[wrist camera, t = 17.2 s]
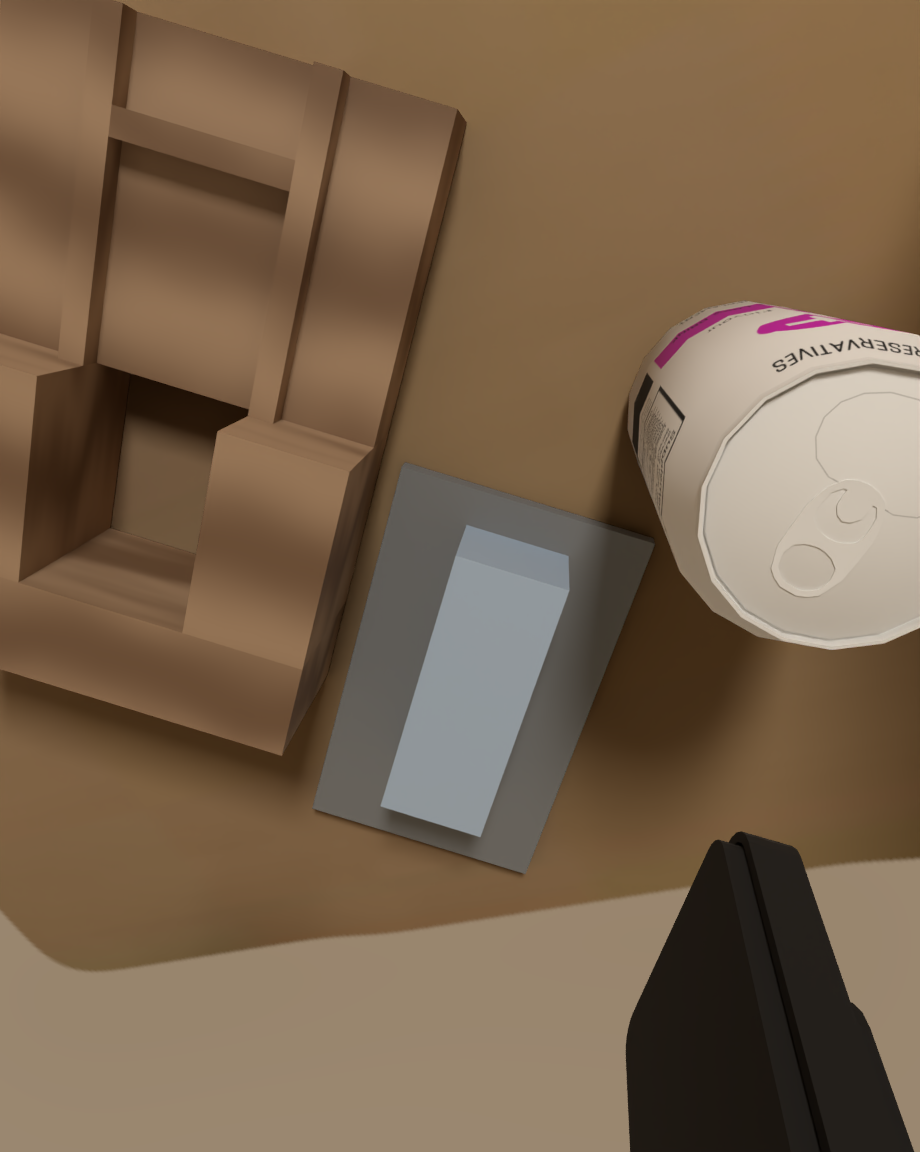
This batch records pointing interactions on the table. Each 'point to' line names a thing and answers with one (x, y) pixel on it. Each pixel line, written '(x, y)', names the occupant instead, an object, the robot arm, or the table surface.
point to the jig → (198, 348)
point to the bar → (477, 679)
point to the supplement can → (787, 469)
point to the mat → (403, 632)
